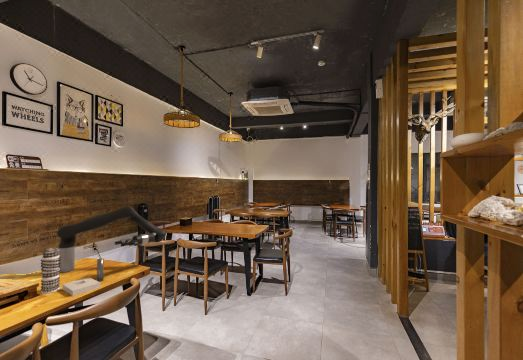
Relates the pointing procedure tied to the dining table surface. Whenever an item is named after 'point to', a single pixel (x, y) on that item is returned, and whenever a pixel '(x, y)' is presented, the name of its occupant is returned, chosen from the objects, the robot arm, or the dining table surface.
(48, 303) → the dining table surface
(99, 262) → the metal pin
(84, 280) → the hole plate
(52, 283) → the tiered tower model
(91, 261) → the dining table surface
